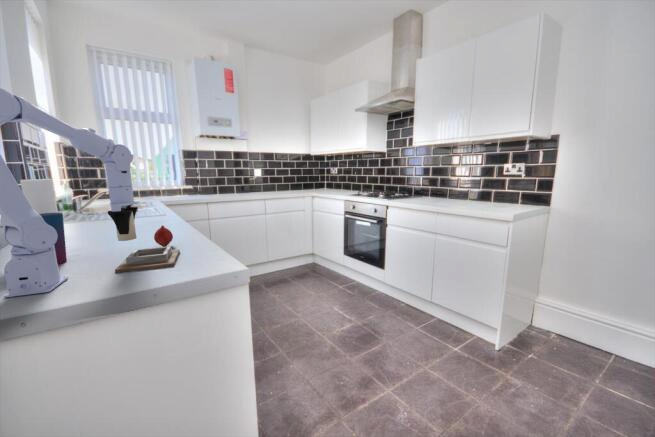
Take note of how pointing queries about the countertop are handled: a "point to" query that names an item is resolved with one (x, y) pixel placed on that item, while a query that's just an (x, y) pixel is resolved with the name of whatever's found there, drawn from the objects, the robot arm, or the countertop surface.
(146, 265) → the holder
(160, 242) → the red round fruit
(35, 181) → the cylindrical container
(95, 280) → the countertop surface
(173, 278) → the countertop surface
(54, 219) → the cup
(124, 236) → the roll
